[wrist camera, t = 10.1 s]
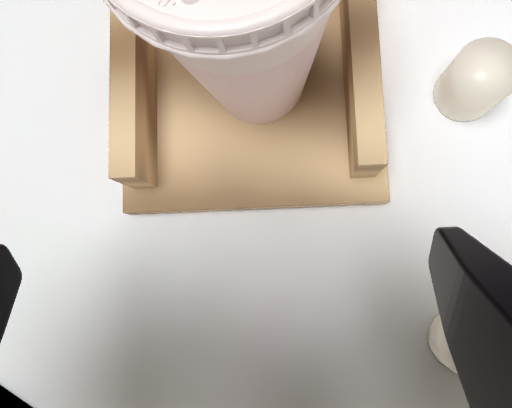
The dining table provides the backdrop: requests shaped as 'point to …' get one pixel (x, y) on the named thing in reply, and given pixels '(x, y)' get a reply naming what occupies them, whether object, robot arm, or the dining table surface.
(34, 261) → the dining table surface
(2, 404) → the dollhouse room
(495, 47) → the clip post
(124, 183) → the tray
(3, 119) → the dining table surface
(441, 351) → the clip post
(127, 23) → the smoothie
